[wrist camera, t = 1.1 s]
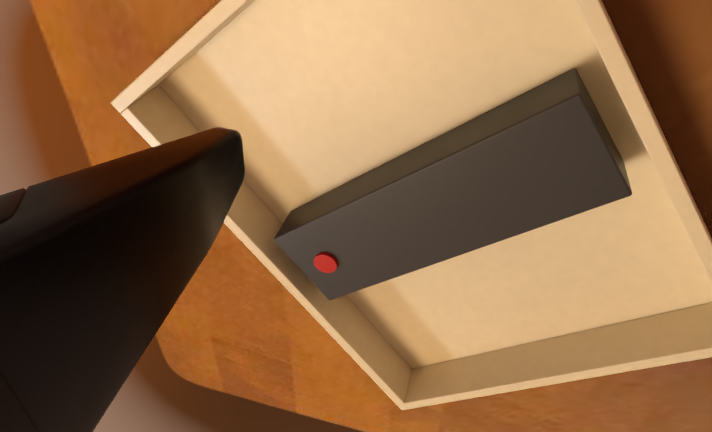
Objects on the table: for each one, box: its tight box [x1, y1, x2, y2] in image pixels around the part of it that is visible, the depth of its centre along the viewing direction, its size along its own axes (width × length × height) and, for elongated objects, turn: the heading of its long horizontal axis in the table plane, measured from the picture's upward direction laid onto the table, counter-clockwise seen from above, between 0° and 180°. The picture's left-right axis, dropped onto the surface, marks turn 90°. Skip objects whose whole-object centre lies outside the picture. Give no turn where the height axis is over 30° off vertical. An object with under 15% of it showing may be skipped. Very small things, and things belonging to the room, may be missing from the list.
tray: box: [111, 0, 712, 410], centre depth 23 cm, size 23×18×3 cm
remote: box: [274, 68, 632, 300], centre depth 22 cm, size 15×5×3 cm, turn 127°
